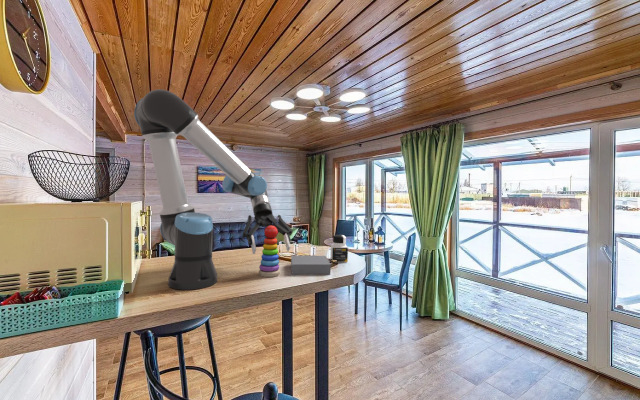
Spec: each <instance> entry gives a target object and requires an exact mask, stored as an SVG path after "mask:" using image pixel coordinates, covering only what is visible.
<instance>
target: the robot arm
mask: <svg viewBox="0 0 640 400" xmlns="http://www.w3.org/2000/svg"><path fill="white" fill-rule="evenodd" d="M133 115H134V118H135V121H136V123H137V125H138V126H139V128H140V132H141V136H142V138H144V140H146V141H147V142H148V147H149V149H150V153H151V158H152V159H151V161H152V164H153V168H154V173H155V176H156V177H155V178H156V181H157V186H158V190H159V195H160V199H161V204H162V210H161V211H160V212H159V217H160V221H161V223H160V228H159V229H160V230H159V231H160V234H161V237H162V238H163V239H164V240H165V241H166V242H167V243H169V244H170V245H172V246H174V263H173V265H172V268H171V272H170V273H169V275H168V287H169V288H171V289H174V290H181V291H188V290H189V291H190V290H200V289H203V288H207V287H211V286H213V285H215V284H216V283H217V281H218V273H217V270H216V267H215V264H214V261H213V238H214V237H213V236H214V235H213V234H214V233H213V230H214V224H213V217H212V216H211V215H209V214H206V213H203V212H202V213H201V212H196V210H195V206H193V205H191V204H190V203H189V199H188V198H189V197H188V195H187V194H188V193H187V190H186V184H185V180H184V175H183V170H182V169H183V168H182V164H181V160H180V155H179V150H178V145H177V140H176V139H177V137H178V136H182V137H183V138H185V140H187V141H188V142H189V143H190V144H191V145H192V146H193V147H194V148H196V150H198V151H199V152H200V153H201V154H203V156H205V158H207V159H208V160H209V161H210V162H211V163H213V165H214V166H216V168H218V169H219V170H220V171H221V172H222V173H224V174H225V176H224V178H223V180H222V187H221V188H222V190H224V191H225V192H227V193H229V194H234V195H237V196H242V197H244V198H248V199H250V203H251V206H252V211H253V215H254V216H252V214H251V215H250V214H249V215H248V216H247V220H246V225H245V226H244V230H243V232H242V233H241V238H242V239H245V238H246V240H247V244H248V246H251V251H252V254H253V255H254V254H256V251H257V246H256V242H255V237H254V234H255V232H257V230H258V229H259V228H260V227H261V228H266V227H268V226H275V227H276V228H277V230H278V233H280V234H281V235H282V236H283V241H284V245H285V249H286V251H287V252H290V249H291V248H292V247H291V236H292V234H293V231H294V230H293V229H292V228H291V227H290V226H289V225H288V224H287V223H286V222H285V220H283V219H282V218H283V217H282V216H281V215H280V214H277V216H275V215H273V210H272V205H271V203H270V198H269V195H268V192H267V191H268V190H267V189H268V182H267V180H266V179H265V178H264V177H263V176H261V175H257V174H255V173H254V172H253V171H252V170H251V169H250V168H249V167H248V166H247V165H246V164H245V163H244V162H242V160H241V159H240V158H239V157H238V156H236V154H234V152H232V150H231V149H229V147H227V146H226V145H225V144H224V143H223V142H222V140H220V139H219V138H218V137H217V136H216V135H215V134H214V133H213V132H212V131H211V130H210V129H209V128H208V127H207V126H206V125H205V124H204V123H203V122H201V120H200V119H199V113H197V112H196V111H195V110H194V109H193V108H192V107H191V106H189V104H188V103H186V102H185V101H184V100H183V99H182V98H181V97H180V96H178V94H175V93H173V92H172V91H170V90H166V89H163V88H162V89H161V88H160V89H153V90H150V91H149V92H147V94H145V95H144V97H143V98H141V99H140V100H139V101H138V102H137V103H136V105H135V108H134V114H133ZM253 222H255V224H254V226H253V227H252V228H251V229H250V230H249V228H250V226H251V224H252V223H253ZM248 231H249V232H248Z"/></svg>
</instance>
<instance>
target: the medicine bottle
mask: <svg viewBox="0 0 640 400" xmlns="http://www.w3.org/2000/svg"><path fill="white" fill-rule="evenodd" d="M346 243H347V237H346V236H345V235H344V234H335V235H333V236H332V243H331V244H330V260H331V259H332V260H337V261H338V262H337V263H348V259H349V256H348V255H349V247H348V246H347V244H346ZM332 260H331V261H332Z"/></svg>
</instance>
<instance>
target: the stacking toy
mask: <svg viewBox="0 0 640 400" xmlns="http://www.w3.org/2000/svg"><path fill="white" fill-rule="evenodd" d="M263 233H264V236H265V237H266V238H264V239H263V242H264V243H263V245H262V247H263V249H262V254H261V260H260V265H259V270H258V274H259V276H261V277H265V278H272V277H277V276H279V275H280V273H281V270H280V265H279V263H280V260H279V257H280V256H279V254H278V253H279V250H278V244H277V243H278V238H277V236H278V235H279V234H278V233H279V232H278V230H277V228H276V227H275V226H268V227H265V228H264V231H263Z"/></svg>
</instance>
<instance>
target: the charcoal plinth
mask: <svg viewBox="0 0 640 400" xmlns="http://www.w3.org/2000/svg"><path fill="white" fill-rule="evenodd" d="M331 266H332V265H331V262H330V261H329V259H328V258H327V256H326V255H291V256H290V269H291V270H290V271H291V276H296V275H297V276H299V275H300V276H304V275H305V276H308V275H309V276H316V275H317V276H318V275H323V276H324V275H330V276H331V271H332V270H331V268H332V267H331Z"/></svg>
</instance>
